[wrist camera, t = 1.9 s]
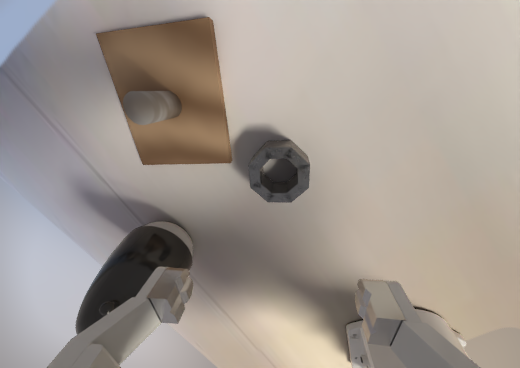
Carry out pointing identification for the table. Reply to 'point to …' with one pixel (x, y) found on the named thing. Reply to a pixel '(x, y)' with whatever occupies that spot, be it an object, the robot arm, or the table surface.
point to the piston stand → (170, 91)
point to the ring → (279, 189)
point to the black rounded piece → (134, 268)
